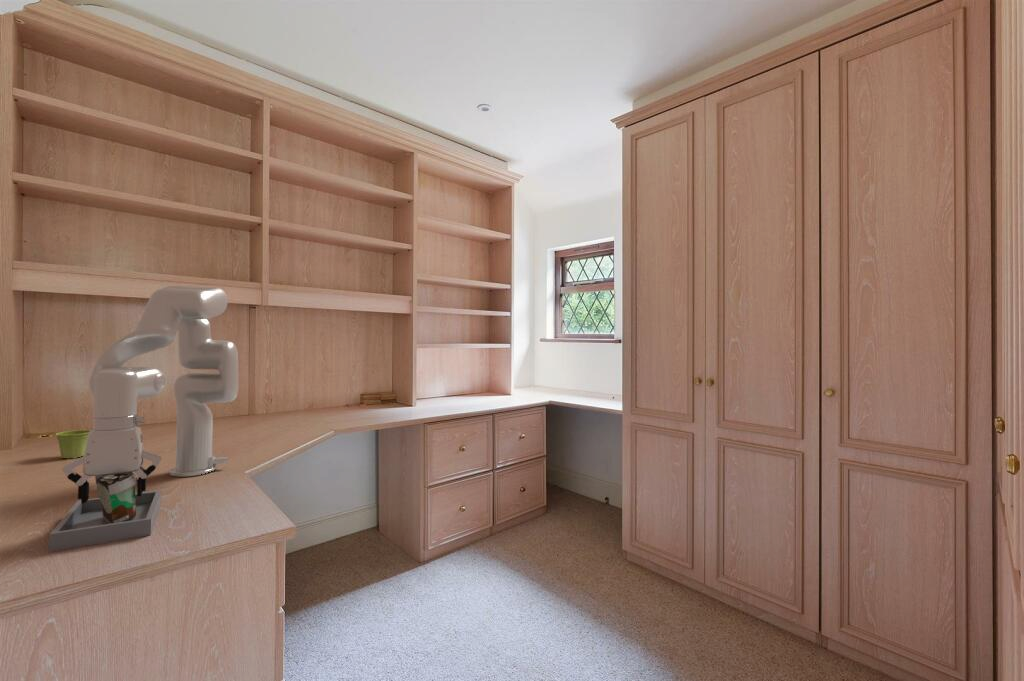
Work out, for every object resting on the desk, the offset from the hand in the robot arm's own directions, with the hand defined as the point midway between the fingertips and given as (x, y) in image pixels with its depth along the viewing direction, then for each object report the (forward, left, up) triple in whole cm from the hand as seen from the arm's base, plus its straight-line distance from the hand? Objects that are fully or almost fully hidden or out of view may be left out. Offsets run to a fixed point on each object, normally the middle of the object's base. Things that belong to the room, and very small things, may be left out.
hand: (113, 498), depth 105 cm
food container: (-2, -1, -5) cm, 6 cm away
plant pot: (+22, -80, -6) cm, 83 cm away
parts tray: (0, 0, -6) cm, 6 cm away
